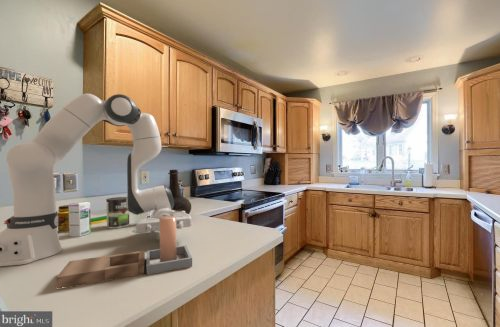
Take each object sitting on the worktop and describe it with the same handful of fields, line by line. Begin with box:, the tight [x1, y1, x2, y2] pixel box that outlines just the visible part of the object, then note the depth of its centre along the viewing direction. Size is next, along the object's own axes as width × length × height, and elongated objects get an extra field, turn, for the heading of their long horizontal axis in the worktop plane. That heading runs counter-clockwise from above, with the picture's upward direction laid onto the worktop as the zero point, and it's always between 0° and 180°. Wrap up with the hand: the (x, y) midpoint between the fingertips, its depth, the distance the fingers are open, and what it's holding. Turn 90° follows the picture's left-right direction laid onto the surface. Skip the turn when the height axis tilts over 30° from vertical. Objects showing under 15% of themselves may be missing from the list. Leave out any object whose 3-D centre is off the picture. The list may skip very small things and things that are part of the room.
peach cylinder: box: [159, 216, 178, 263], centre depth 75 cm, size 5×5×14 cm
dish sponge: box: [91, 215, 107, 226], centre depth 133 cm, size 7×14×2 cm, turn 147°
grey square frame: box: [146, 244, 193, 275], centre depth 75 cm, size 13×13×2 cm
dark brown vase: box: [167, 169, 192, 215], centre depth 136 cm, size 18×18×28 cm
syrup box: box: [68, 201, 92, 238], centre depth 107 cm, size 6×6×14 cm
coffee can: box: [105, 196, 130, 229], centre depth 122 cm, size 10×10×14 cm
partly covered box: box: [55, 250, 146, 289], centre depth 69 cm, size 20×11×3 cm, turn 113°
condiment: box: [57, 204, 70, 234], centre depth 115 cm, size 7×8×12 cm
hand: (166, 228), depth 87 cm, fingers open, 8 cm apart
